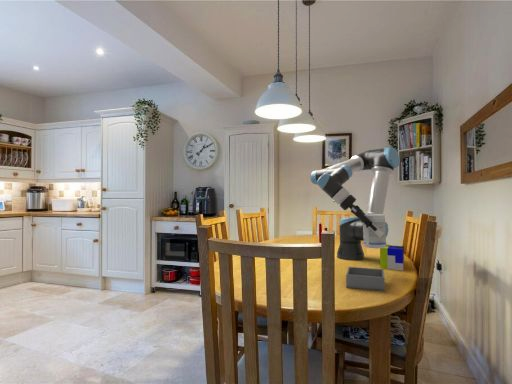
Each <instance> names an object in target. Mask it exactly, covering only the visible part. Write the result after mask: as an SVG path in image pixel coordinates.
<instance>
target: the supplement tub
mask: <svg viewBox="0 0 512 384" xmlns="http://www.w3.org/2000/svg"><path fill="white" fill-rule="evenodd" d="M365 216H366V217H367V218H368V219H369V220H370V221H371V222H372V223H374V224H375V225H376V226H377V227H378V228H379V229H380V230H381V231H382V232H383V233H384V234H383V235H382V236H381V237H380V238H379V237H378V236H377V235H376V234H375V233H374V232H373V231H372V230H371V229H370V228H369V227H368V228H366V225H365V224H364V223H363V240H364V241H363V246H364V247H365V248H368V249H380V248H384V247H386V245H387V240H386V239H387V237H386V231H385V222H386V218H385V214H384V213H383V214H365Z"/></svg>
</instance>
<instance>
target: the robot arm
mask: <svg viewBox="0 0 512 384" xmlns="http://www.w3.org/2000/svg"><path fill="white" fill-rule="evenodd" d="M400 163H401V159H400V155H399V152H398V150H397V149H396V148H394V147H383V148H376V149H369V150H365V151H363V152H360V153H358V154H356V155H353V156H352V157H351V158H350V159H347V160H344V161H342V162H339V163H336V164H334V165H331V166H328V167H325V168H323V169H319V170H318V169H317V170H313V171H312V172H311V174H310V181H311V183H312V184H313V185H317V186H318V187H319V188H320V189H321V190H322V191H323V192H324V193H325V194H327V195H328V196H329V198H331V199H332V200H333V203H336V204H337V205H339V207H340V208H341V209H343V211H347V210H348V209H350V212H351V213H352V214H353V215H354V216H353V217H352V216H351V217H343V218H342V217H341V219H339V225H338V226H339V245H338V248H337V249H338V250H337V251H336V257H337V258H338V259H341V260H350V261H357V260H364V259H365V252H364V250H363V247H362V242H364V240H363V223H364V224H365V225H366V228H368V227H369V228H370V229H371V230H372V231H373V232H374V233H375V234H376V235H377V236H378V237H379V238H380V237H381V236H382V235H383V234H384V233H383V232H382V231H381V230H380V229H379V228H378V227H377V226H376V225H375V224H374V223H372V222H371V221H370V220H369V219H368V218H367V217H366V216H365V214H383V215H384V211H385V207H386V205H385V204H386V199H387V194H388V188H389V182H390V177H391V175H392V174H394V172H395V171H394V170H395V169H397V168H399V166H400ZM370 170H371V171H372V173H373V175H372V179H371V187H370V191H369V196H368V202H367V207H366V212H365V211H364V210H363V209H362V208H360V206H359V205H355V204H354V203H355V202H356V201H357V198H356V197H354V196H353V195H352V194H350V191H348V190H347V189H346V188H345V187H344V186H343V184H346V182H347V181H349V180H350V179H351V177H352V176H353V174H354V172H361V171H370ZM385 231H386V238H387V237H388V234H389V225H388V223H387V222H386V221H385Z"/></svg>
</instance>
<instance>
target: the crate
mask: <svg viewBox="0 0 512 384" xmlns="http://www.w3.org/2000/svg"><path fill="white" fill-rule="evenodd" d="M345 276H346V277H345V284H346V285H345V286H346V288H347V289H358V290H367V291H368V290H369V291H378V292H385V291H386V283H385V281H386V279H385V271H384V268H370V267H369V268H368V267H356V266H348V268H347V271H346V275H345Z"/></svg>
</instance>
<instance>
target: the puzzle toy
mask: <svg viewBox="0 0 512 384" xmlns="http://www.w3.org/2000/svg"><path fill="white" fill-rule="evenodd" d="M379 260H380V261H379V263H380V264H379V269H383V270H385V269H386V270H393V269H394V271H396V270H397V271H404V269H405V246H404V245H389V244H386V247H384V248H379Z"/></svg>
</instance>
